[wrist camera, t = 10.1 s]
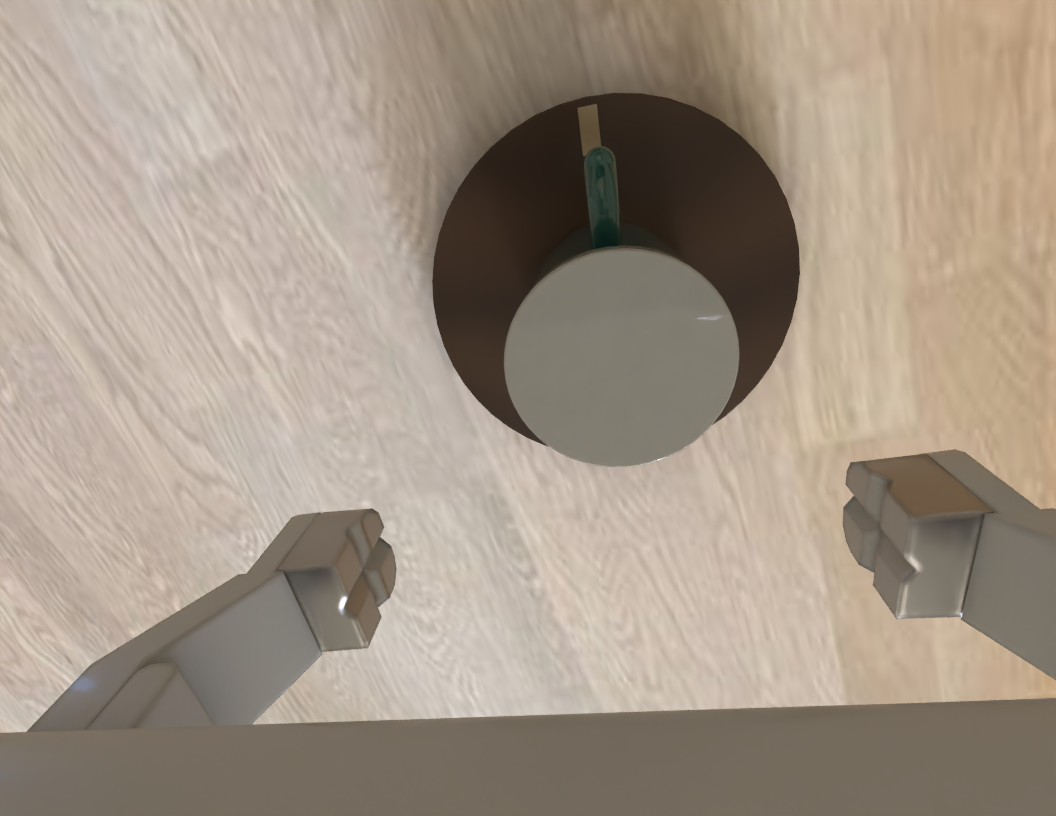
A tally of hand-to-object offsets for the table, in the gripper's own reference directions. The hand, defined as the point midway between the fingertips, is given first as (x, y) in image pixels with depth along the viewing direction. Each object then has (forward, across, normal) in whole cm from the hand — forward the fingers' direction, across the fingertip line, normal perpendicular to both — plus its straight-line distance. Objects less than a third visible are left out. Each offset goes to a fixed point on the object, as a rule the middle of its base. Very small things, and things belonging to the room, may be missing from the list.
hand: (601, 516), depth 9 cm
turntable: (+16, -1, 0) cm, 16 cm away
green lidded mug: (+14, -1, -1) cm, 14 cm away
